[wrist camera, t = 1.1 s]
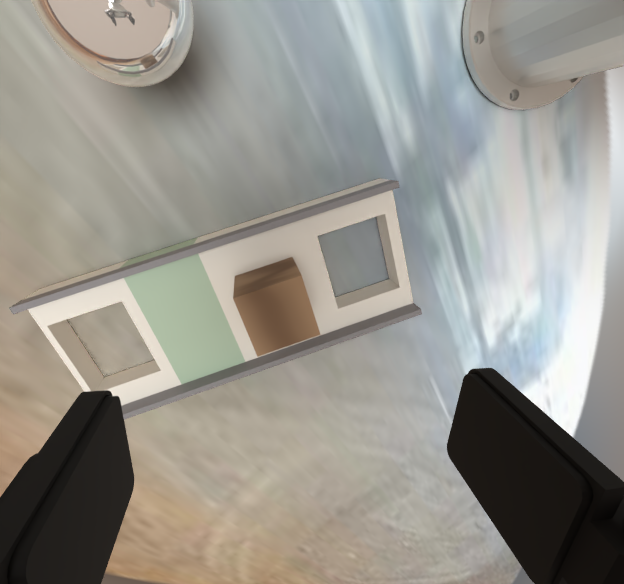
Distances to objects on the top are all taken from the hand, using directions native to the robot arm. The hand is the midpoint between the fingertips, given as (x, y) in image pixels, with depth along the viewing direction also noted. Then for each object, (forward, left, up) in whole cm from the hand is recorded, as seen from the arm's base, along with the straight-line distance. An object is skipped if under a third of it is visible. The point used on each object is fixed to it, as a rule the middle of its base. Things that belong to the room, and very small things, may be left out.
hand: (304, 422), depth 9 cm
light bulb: (+3, -15, -23) cm, 28 cm away
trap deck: (+4, +4, -23) cm, 23 cm away
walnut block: (+1, +4, -20) cm, 21 cm away
